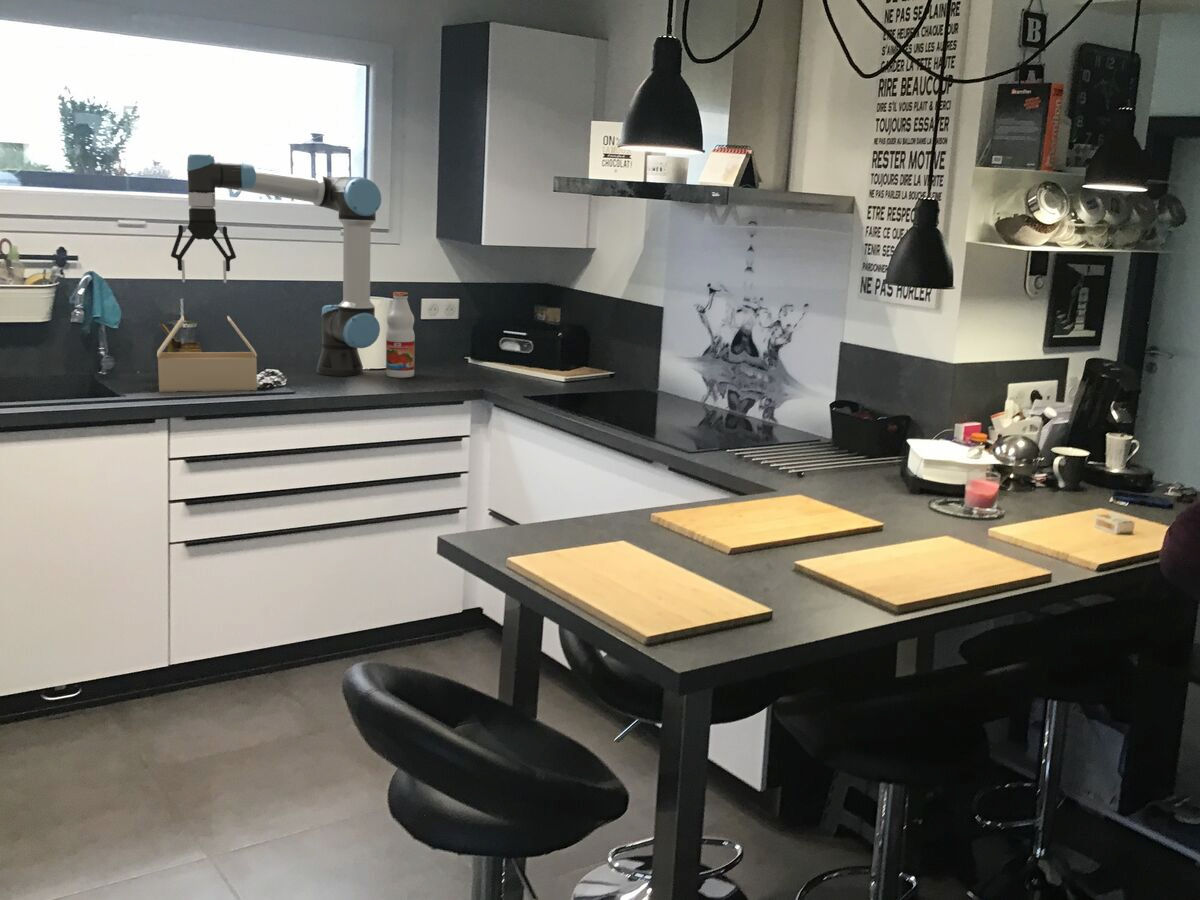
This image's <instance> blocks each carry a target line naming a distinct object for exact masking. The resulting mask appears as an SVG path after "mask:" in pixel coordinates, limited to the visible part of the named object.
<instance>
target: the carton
mask: <svg viewBox="0 0 1200 900" xmlns="http://www.w3.org/2000/svg"><path fill="white" fill-rule="evenodd" d="M257 361H258V360H257V356H255V355H254V354H253V352H252V351H233V352H232V351H229V352H226V351H219V352H218V351H217V352H215V351H212V352H211V351H210V352H209V351H207V352H206V351H205V352H203V351H202V352H185V353H178V352H174V353H168V352H162V353H161V355H160V356H159V357H157V371H158V392H159V393H178V392H177V391H202V392H236V391H235V390H246V391H245V392H249V390H254V392H255V391H258V375H257V374H258V369H257V368H258V366H257V363H258V362H257ZM247 390H248V391H247Z"/></svg>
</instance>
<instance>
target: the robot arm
mask: <svg viewBox="0 0 1200 900" xmlns="http://www.w3.org/2000/svg"><path fill="white" fill-rule="evenodd" d="M186 167H187V168H186V170H187V171H186V172H187V186H188V194H187V195H188V206H189V207H190V208H188V218H189V219H188V221H189V222H188V225H185V224H184V225H182V224H179V225H178V233H177V236H176V239H175V241H174V245H173V248H172V251H171V252H170V253H171V254H170V256H171V258H173V259H176V261H177V270H178V271H180V272H181V278H182V280H181V281H182V283H185V282H186V273H185V272H186V271H185V259H183V257H184V256H185V254H186V253H187V251H188V250H189V249H190V247H191V245H192V244H193V242H194V241H195V239H196V240H198V241H199V240H206V241H209V240H211V241H212V242H213V244H215V245H214V246H215V247H216V248H217V249H218V250H219V252H220V253H221V255H222V256H223V258H224V259H223V260H222V270H223V272H222V274H223V275H222V276H223V283H224V284H227V272H231V260H232V261H233V260H234V259H235V260H236V258H237V255H236V253H235V250H234V248H233V245H232V242H231V241H230V237H229V235H228V226H226V225H223V226H221V225H220V226H219V225H217V220H216V219H217V215H216V213H217V212H216V209H215V207H216V188H218V189H227V190H229V189H230V190H233V191H235V190H236V191H240V192H241V191H242V192H249V193H254V194H260V195H267V196H272V197H278V198H280V197H281V198H284V199H292V200H295V201H297V200H298V201H302V202H303V201H304V202H310V203H312V204H313V205H314V206H315V207H321V208H325V209H328V210H332V211H335V212H338V221H339V222H340V223H341V224H342V225H343V229H342V230H343V232H342V234H343V235H342V236H343V243H342V244H343V245H342V246H343V248H342V249H343V251H342V252H343V253H342V254H343V259H342V260H343V261H342V262H343V263H342V264H343V265H342V266H343V267H342V268H343V269H342V270H343V271H342V274H343V275H342V276H343V278H342V282H343V283H342V284H343V285H342V292H343V293H342V298H343V299H342V301H341V302H340V303H338V304H327V305H324V306H323V307H322V308H321V315H320V316H321V345H322V346H321V353H320V356H319V360H318V362H317V366H316V373H318V374H319V375H324V376H335V377H337V376H340V377H344V376H345V377H347V376H358V375H362V374H363V373H364V367H363V363H362V360H361V357H360V353H359V351H358V349H365V348H368V347H371V346H372V345H373V344H375V342H376V341H377V340H378V338H379V336H380V332H381V331H380V330H381V326H380V323H379V321H378V319H377V318H376V315H375V312H376V311H375V309H376V308H375V307H376V306H375V305H374V304H373V303H372V301H371V231H372V229H371V228H372V225H373V224H375V223H376V215H377V213H376V212H378V210H379V208H380V207H381V204H382V194H381V190H380V189H379V186H378V185H376V183H375V182H374V181H372V180H371V179H369V178H366V177H361V176H339V177H338V176H336V177H331V176H329V177H327V176H322V175H321V176H320V175H319V176H317V177H315V178H314V177H309V176H303V175H302V176H301V175H296V174H290V173H284V172H279V171H273V170H267V169H261V168H255V166H254V165H253V164H252V163H245V162H226V161H225V162H221V161H220V162H219V161H216V160H215V157H214V155H213V154H201V153H190V154H189V155H188V156H187V165H186ZM187 230H188V231H189V232H190V233H191V236H190V237H189V239H188V240H187V242H186V243H185V244H184V246H183V248H182V250H181V251H179V252H180V253H179V254H177V252H178V249H179V246H180V243H181V241H182V237H183V234H184V233H186V231H187ZM217 231H219V233H220V234H222V236H223V238H224V242H225V244H226V246H227V249H228V251H229V253H230V254H229V255H228V254H227V252H226V251H225V249H224V247H223V246H222V245H221V243H220V242H219V241H218V239H217V238H216V236H215V234H216V232H217Z"/></svg>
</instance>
